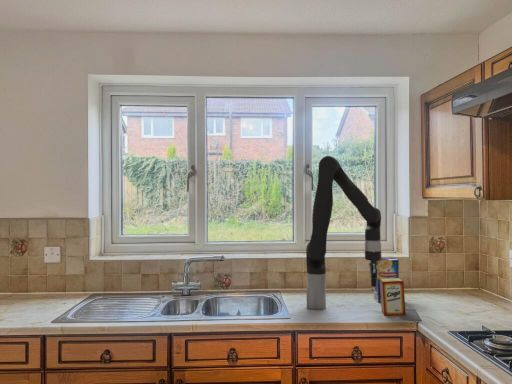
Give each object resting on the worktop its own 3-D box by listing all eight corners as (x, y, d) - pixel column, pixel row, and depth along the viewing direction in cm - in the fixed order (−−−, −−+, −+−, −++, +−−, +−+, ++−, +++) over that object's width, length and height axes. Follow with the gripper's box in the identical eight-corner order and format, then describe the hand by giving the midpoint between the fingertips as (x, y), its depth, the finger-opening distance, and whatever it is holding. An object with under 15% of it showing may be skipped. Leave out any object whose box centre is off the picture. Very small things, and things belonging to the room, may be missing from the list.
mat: (401, 320, 183) (401, 319, 183) (396, 308, 200) (396, 307, 200) (422, 321, 181) (422, 320, 181) (414, 309, 199) (414, 308, 199)
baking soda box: (384, 315, 189) (382, 281, 189) (381, 311, 196) (379, 278, 196) (405, 315, 188) (403, 280, 188) (402, 311, 195) (400, 277, 195)
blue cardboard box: (399, 302, 212) (398, 259, 212) (378, 303, 211) (378, 260, 211) (393, 298, 219) (393, 257, 219) (373, 299, 218) (373, 258, 218)
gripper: (364, 247, 201) (364, 282, 201) (365, 251, 188) (366, 289, 188) (379, 247, 200) (380, 283, 200) (382, 251, 187) (383, 289, 187)
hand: (373, 286), depth 194 cm, fingers closed
